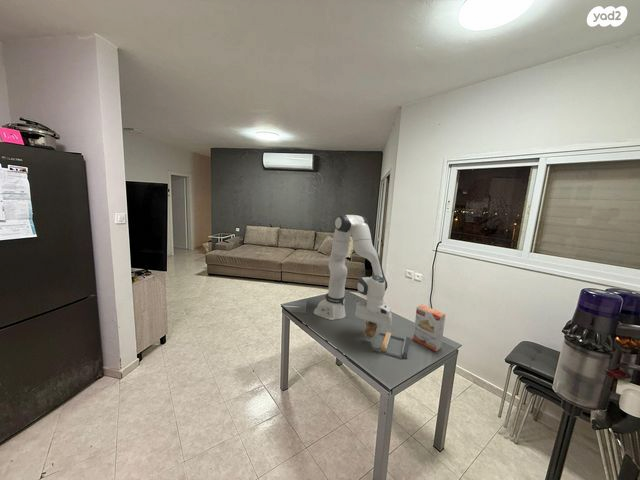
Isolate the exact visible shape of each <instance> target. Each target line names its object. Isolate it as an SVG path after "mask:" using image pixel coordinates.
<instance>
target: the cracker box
mask: <svg viewBox="0 0 640 480" xmlns="http://www.w3.org/2000/svg"><path fill="white" fill-rule="evenodd" d="M445 320H446V313H443V312H441V311H438V310H436V309H433V308H431V307H430V306H428V305H424V304H421V305H418V306H416V311H415V320H414V329H413V330H414V331H413V341H415V342H417V343H419V344H420V345H422V346H425V347H426V348H427V349H430V350H431V351H433V352H438V351H439V350H441V349H442V344H443V336H444V328H445V323H446V321H445Z"/></svg>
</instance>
